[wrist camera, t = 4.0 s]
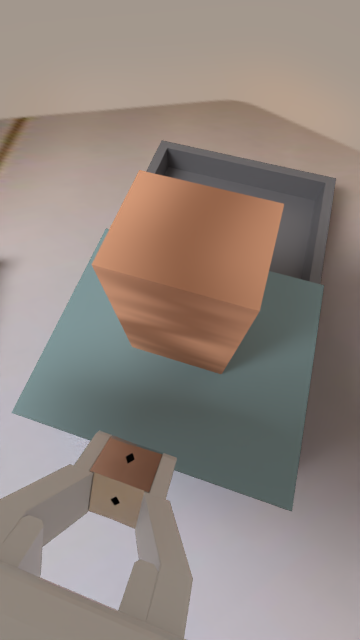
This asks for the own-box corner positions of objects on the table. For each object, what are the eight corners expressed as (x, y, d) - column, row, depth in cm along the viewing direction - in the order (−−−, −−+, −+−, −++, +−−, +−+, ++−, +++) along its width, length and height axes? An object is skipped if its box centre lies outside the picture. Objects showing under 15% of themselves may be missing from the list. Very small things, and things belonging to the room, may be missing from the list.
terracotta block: (131, 347, 16) (91, 264, 9) (156, 285, 17) (139, 170, 10) (221, 374, 15) (259, 311, 8) (238, 308, 17) (284, 203, 10)
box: (113, 268, 25) (107, 251, 23) (163, 163, 30) (161, 140, 27) (303, 321, 23) (316, 307, 21) (323, 200, 28) (336, 178, 26)
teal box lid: (57, 421, 20) (11, 412, 15) (122, 276, 25) (106, 228, 19) (258, 491, 19) (291, 511, 13) (289, 323, 23) (324, 285, 17)
